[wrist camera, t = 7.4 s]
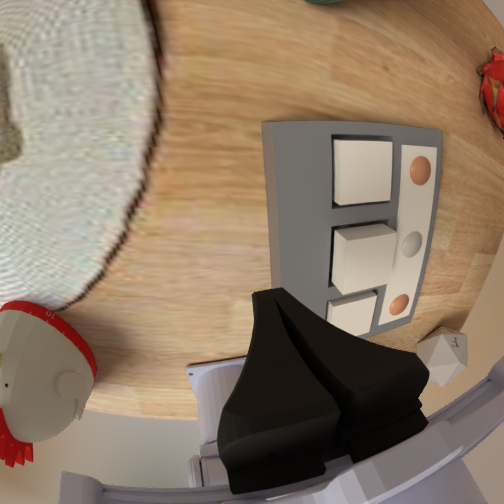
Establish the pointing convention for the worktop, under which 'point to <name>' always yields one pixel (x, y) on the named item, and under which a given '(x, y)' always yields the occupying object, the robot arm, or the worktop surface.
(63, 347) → the kitchen timer
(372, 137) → the button board
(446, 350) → the die
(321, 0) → the beverage bottle
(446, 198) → the worktop surface
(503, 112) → the dragon fruit
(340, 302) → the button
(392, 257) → the middle button
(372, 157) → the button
